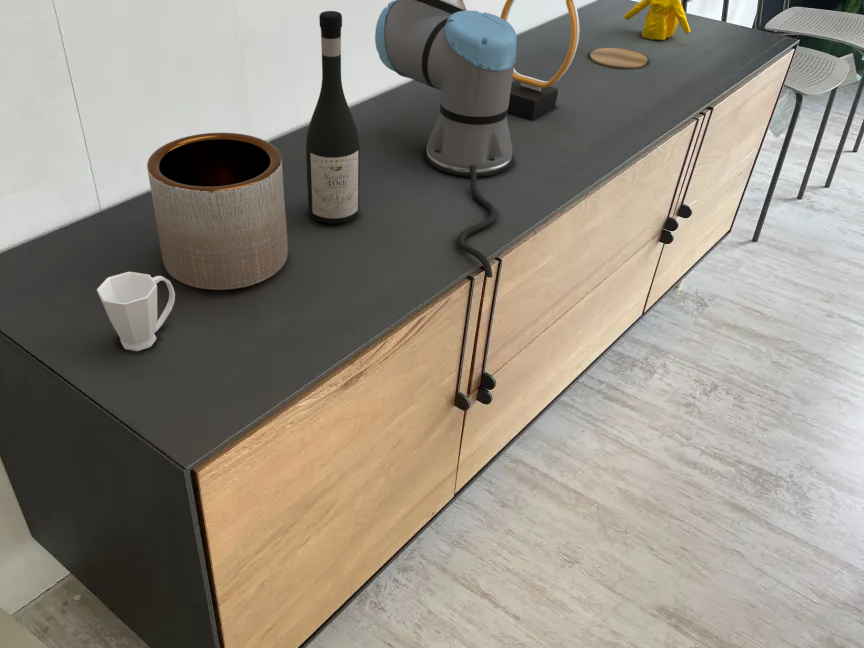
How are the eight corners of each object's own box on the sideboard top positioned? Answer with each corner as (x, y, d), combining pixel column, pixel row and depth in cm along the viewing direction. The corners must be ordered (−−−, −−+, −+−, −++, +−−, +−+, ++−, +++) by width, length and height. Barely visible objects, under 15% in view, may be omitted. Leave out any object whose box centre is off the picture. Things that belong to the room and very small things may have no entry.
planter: (172, 230, 118) (155, 131, 108) (289, 228, 120) (283, 130, 109) (156, 298, 105) (135, 192, 95) (288, 294, 106) (281, 189, 96)
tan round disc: (645, 71, 175) (646, 69, 175) (587, 64, 178) (587, 62, 178) (648, 53, 185) (648, 51, 185) (592, 46, 188) (592, 45, 187)
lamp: (478, 103, 159) (497, -73, 139) (502, 91, 165) (524, -80, 144) (549, 125, 151) (581, -57, 131) (572, 112, 156) (606, -66, 136)
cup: (97, 343, 97) (83, 289, 92) (158, 306, 104) (148, 254, 98) (135, 365, 94) (123, 311, 89) (196, 326, 101) (187, 273, 95)
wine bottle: (362, 225, 121) (364, 21, 101) (311, 228, 120) (303, 23, 100) (355, 200, 127) (355, 3, 107) (306, 203, 126) (298, 5, 106)
